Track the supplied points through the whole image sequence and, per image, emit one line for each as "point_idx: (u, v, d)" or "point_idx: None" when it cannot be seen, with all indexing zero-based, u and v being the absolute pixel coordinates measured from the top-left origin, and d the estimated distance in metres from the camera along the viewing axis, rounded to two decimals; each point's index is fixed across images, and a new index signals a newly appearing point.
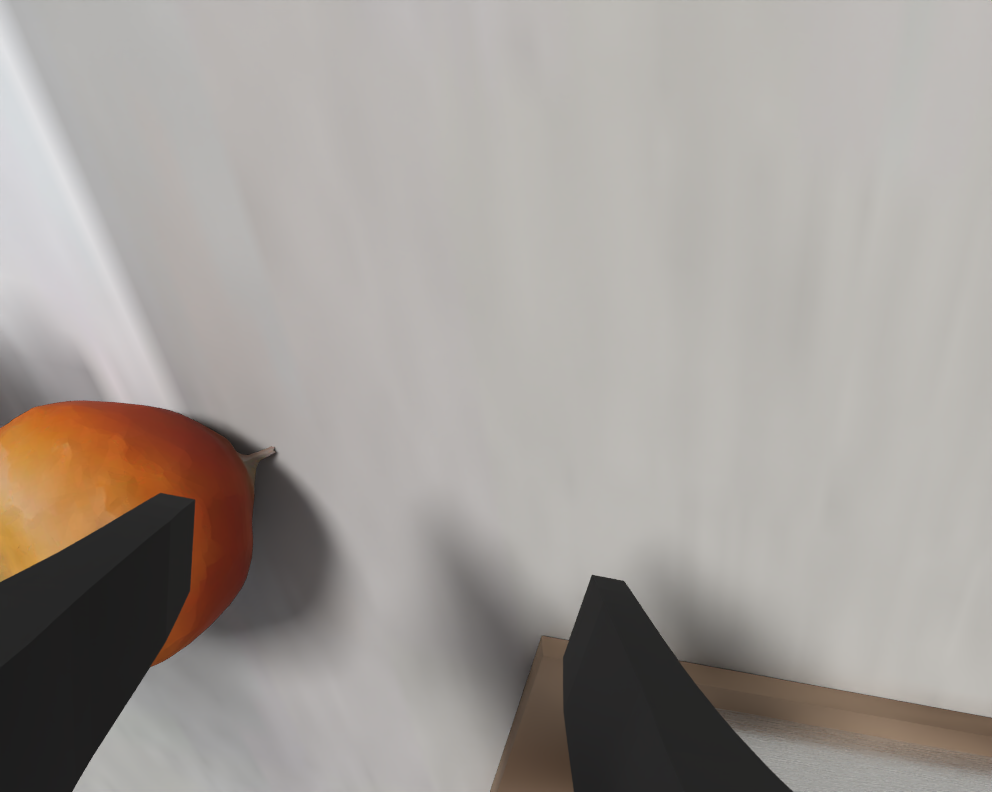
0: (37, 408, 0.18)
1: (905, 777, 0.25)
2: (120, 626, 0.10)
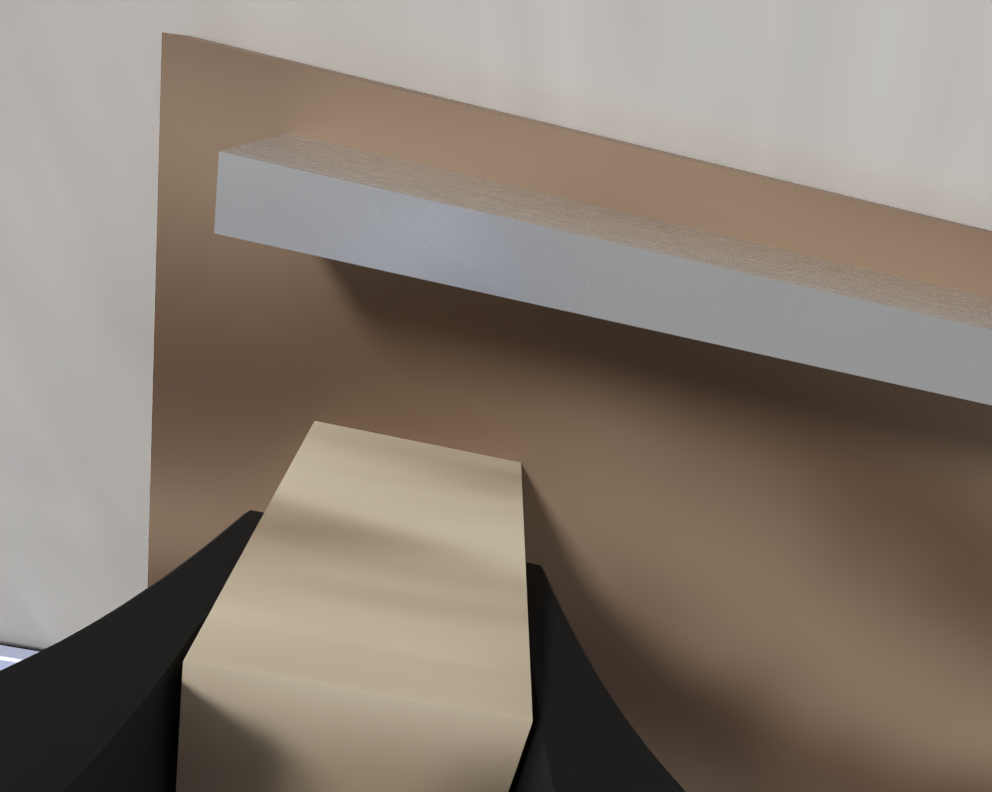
0: None
1: None
2: None
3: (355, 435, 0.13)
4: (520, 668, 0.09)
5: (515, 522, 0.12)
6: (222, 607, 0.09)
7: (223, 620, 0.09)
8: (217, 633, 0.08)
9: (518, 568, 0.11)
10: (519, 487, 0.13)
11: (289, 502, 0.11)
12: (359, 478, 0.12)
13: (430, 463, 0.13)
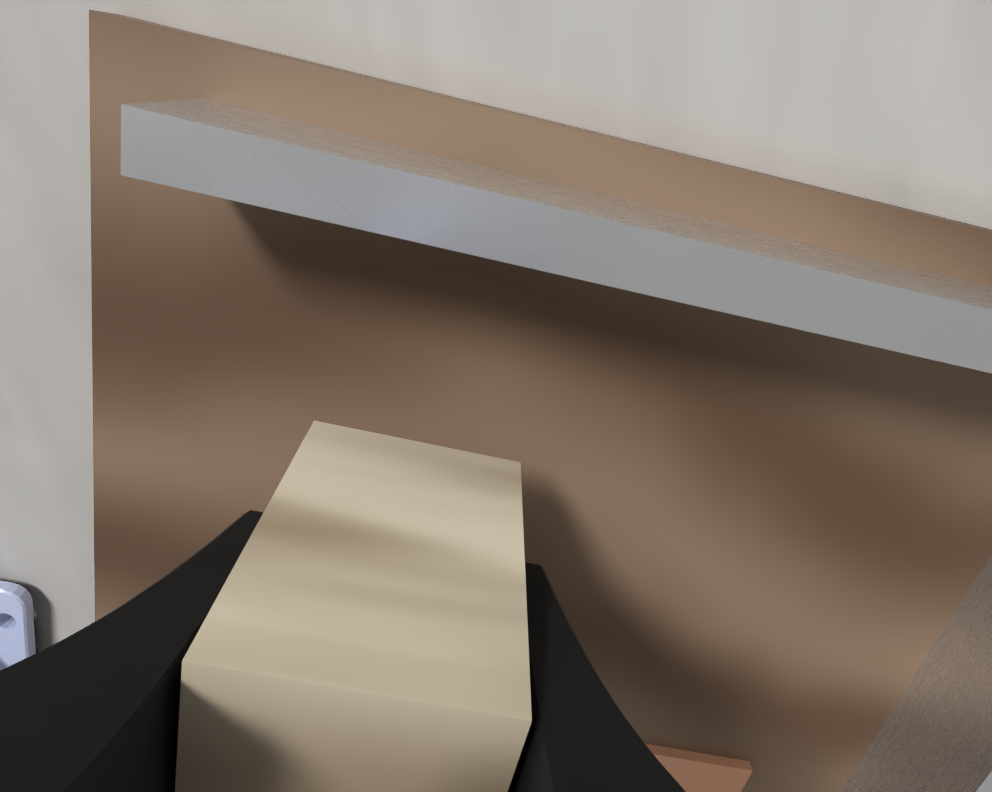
0: None
1: (836, 261, 0.12)
2: None
3: (354, 436, 0.13)
4: (519, 668, 0.09)
5: (514, 522, 0.12)
6: (221, 607, 0.09)
7: (222, 620, 0.09)
8: (216, 633, 0.08)
9: (517, 568, 0.11)
10: (519, 487, 0.13)
11: (288, 502, 0.11)
12: (358, 478, 0.12)
13: (428, 462, 0.13)
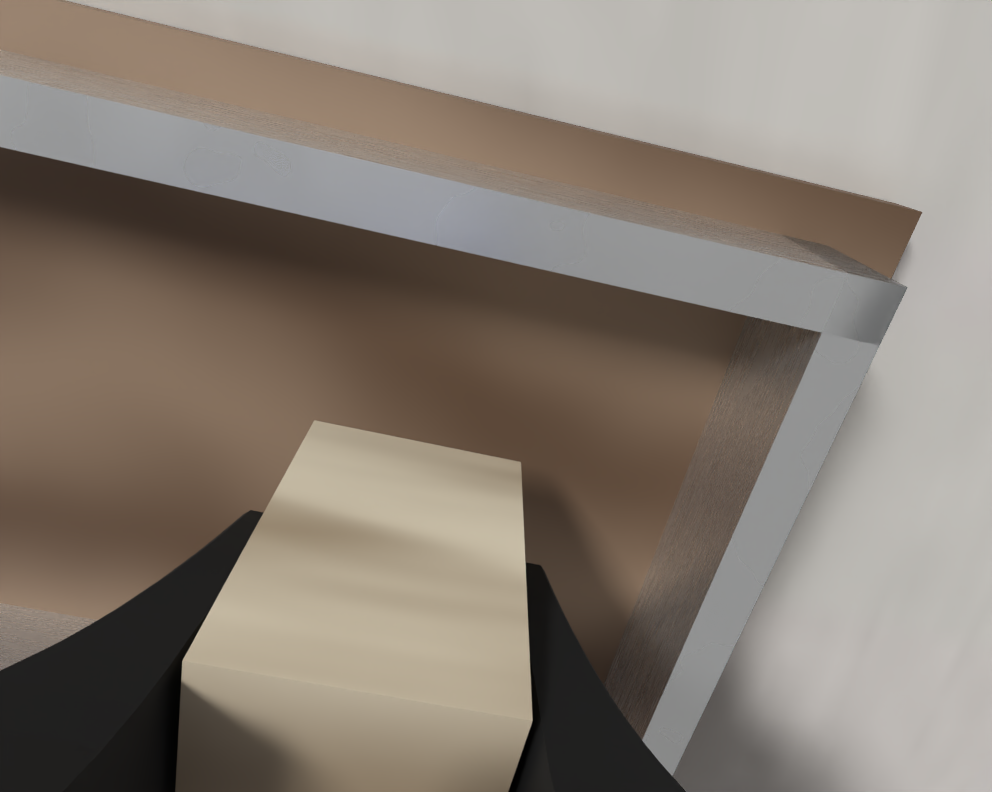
0: None
1: (392, 154, 0.12)
2: None
3: (354, 435, 0.13)
4: (520, 668, 0.09)
5: (515, 521, 0.12)
6: (222, 607, 0.09)
7: (223, 620, 0.08)
8: (217, 633, 0.08)
9: (518, 567, 0.11)
10: (519, 487, 0.13)
11: (289, 502, 0.11)
12: (359, 477, 0.12)
13: (430, 462, 0.13)
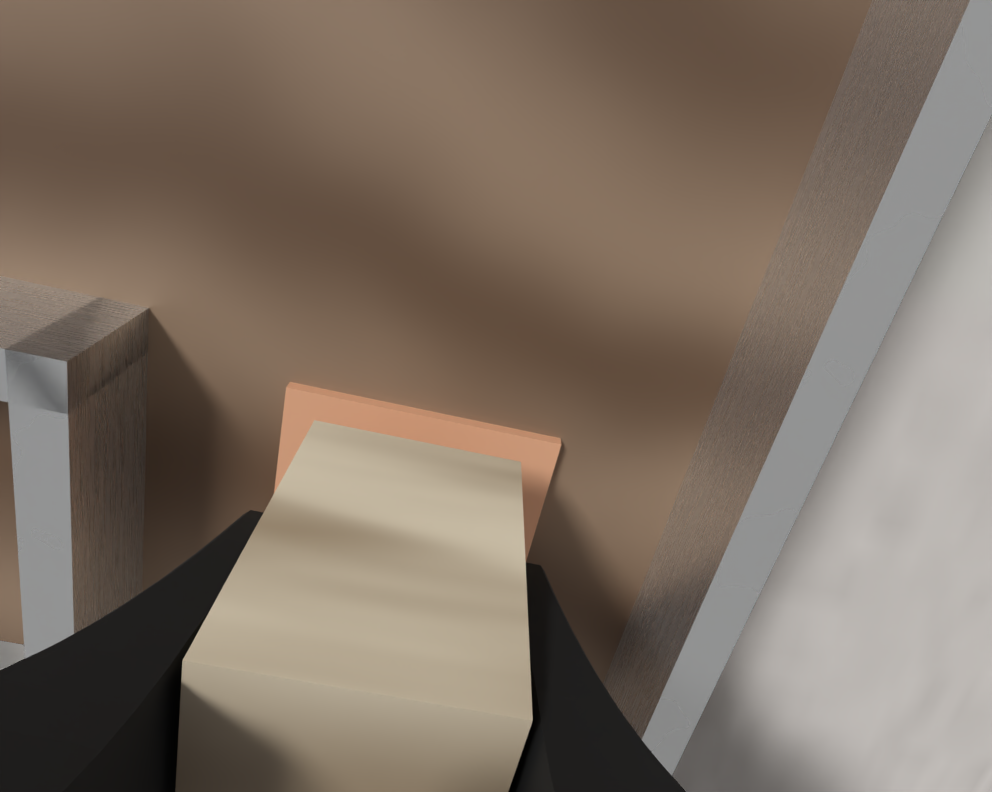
0: None
1: None
2: None
3: (355, 435, 0.13)
4: (520, 667, 0.09)
5: (515, 521, 0.12)
6: (221, 606, 0.09)
7: (222, 619, 0.08)
8: (216, 632, 0.08)
9: (518, 567, 0.11)
10: (519, 487, 0.13)
11: (289, 501, 0.11)
12: (359, 477, 0.12)
13: (430, 462, 0.13)
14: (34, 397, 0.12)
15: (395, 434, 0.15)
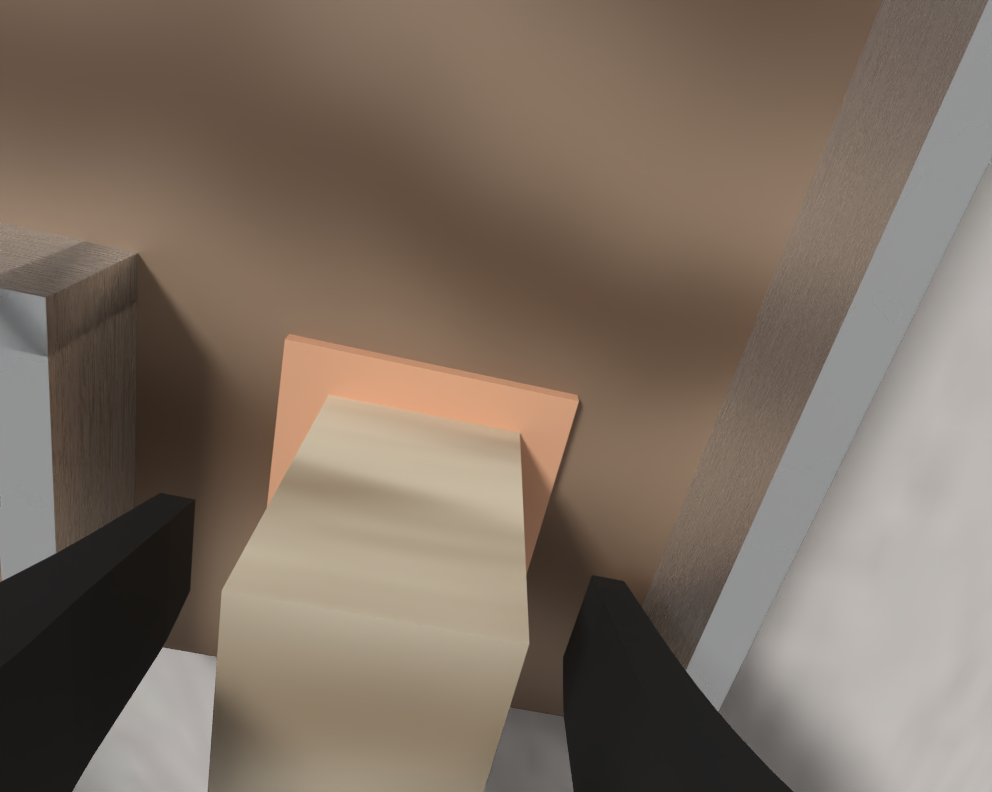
0: None
1: None
2: (119, 626, 0.10)
3: (366, 408, 0.14)
4: (518, 601, 0.10)
5: (514, 483, 0.13)
6: (253, 548, 0.10)
7: (254, 558, 0.10)
8: (250, 568, 0.09)
9: (517, 521, 0.12)
10: (518, 454, 0.14)
11: (308, 463, 0.12)
12: (371, 444, 0.13)
13: (435, 432, 0.14)
14: (10, 337, 0.11)
15: (401, 390, 0.14)
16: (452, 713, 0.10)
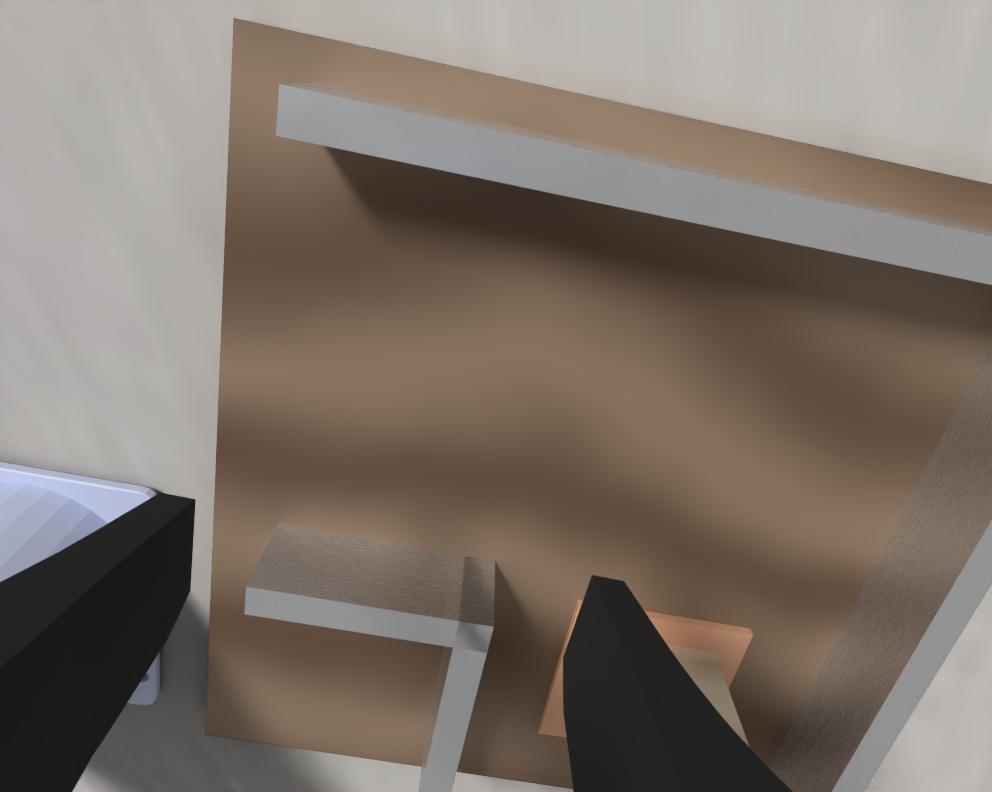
0: None
1: (799, 191, 0.16)
2: (119, 625, 0.10)
3: None
4: None
5: (728, 700, 0.22)
6: None
7: None
8: None
9: (740, 732, 0.21)
10: (720, 673, 0.23)
11: None
12: None
13: None
14: (469, 644, 0.20)
15: None
16: None
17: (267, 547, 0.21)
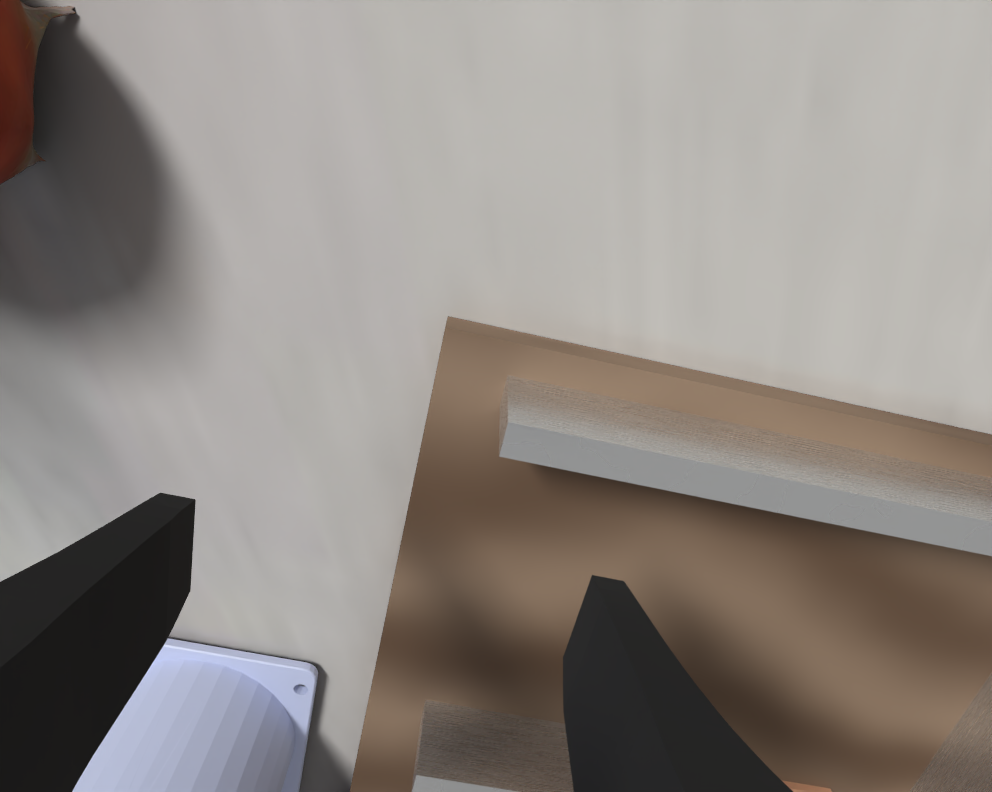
0: None
1: (915, 484, 0.20)
2: (119, 626, 0.10)
3: None
4: None
5: None
6: None
7: None
8: None
9: None
10: None
11: None
12: None
13: None
14: None
15: None
16: None
17: (423, 728, 0.24)
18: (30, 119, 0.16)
